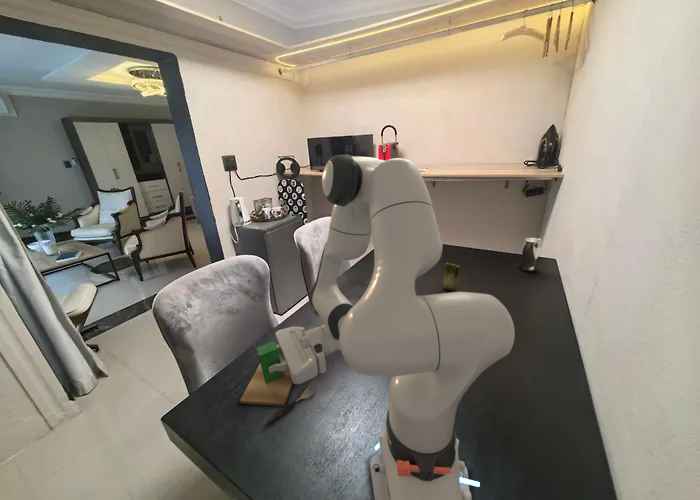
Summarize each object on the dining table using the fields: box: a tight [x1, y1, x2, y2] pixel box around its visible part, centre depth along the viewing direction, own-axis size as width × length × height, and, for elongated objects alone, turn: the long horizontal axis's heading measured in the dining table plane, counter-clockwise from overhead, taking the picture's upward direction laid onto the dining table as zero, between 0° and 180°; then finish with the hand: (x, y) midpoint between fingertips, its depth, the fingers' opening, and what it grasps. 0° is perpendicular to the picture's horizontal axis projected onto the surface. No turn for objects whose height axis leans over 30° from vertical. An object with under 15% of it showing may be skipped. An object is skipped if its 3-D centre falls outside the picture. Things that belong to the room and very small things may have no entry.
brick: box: [256, 340, 283, 384], centre depth 73 cm, size 5×4×10 cm
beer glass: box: [519, 237, 543, 273], centre depth 123 cm, size 7×7×15 cm
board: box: [239, 355, 294, 407], centre depth 75 cm, size 16×12×1 cm
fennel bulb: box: [442, 262, 461, 292], centre depth 111 cm, size 6×5×12 cm
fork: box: [262, 378, 320, 429], centre depth 66 cm, size 3×16×2 cm, turn 135°
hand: (266, 362), depth 72 cm, fingers closed on brick, 4 cm apart
